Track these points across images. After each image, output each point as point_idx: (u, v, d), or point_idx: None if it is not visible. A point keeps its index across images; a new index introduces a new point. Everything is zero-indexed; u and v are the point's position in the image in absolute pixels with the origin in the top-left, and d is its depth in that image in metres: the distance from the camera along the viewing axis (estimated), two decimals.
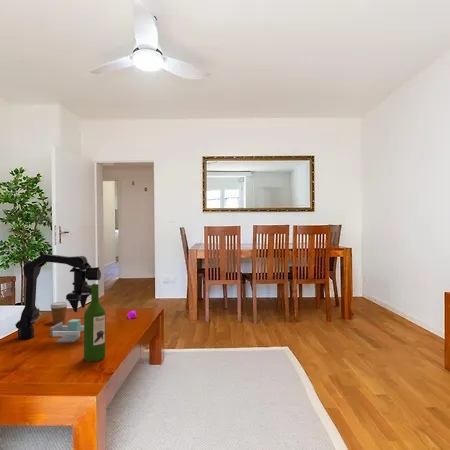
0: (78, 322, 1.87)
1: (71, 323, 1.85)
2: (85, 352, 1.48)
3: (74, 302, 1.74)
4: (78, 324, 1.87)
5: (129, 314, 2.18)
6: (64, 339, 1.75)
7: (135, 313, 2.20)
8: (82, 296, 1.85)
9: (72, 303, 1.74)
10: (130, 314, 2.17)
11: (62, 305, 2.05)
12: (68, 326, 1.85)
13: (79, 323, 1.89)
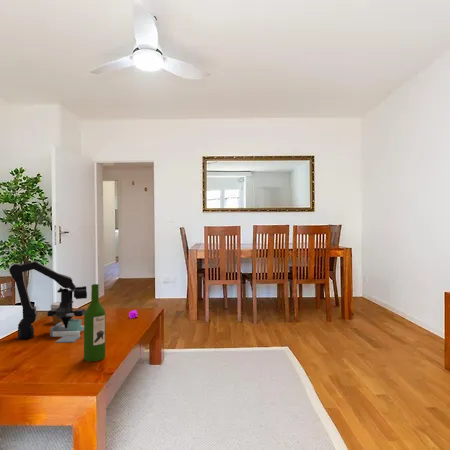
0: (79, 322, 1.87)
1: (72, 323, 1.85)
2: (85, 352, 1.48)
3: None
4: (79, 324, 1.87)
5: (130, 314, 2.18)
6: (64, 339, 1.75)
7: (136, 313, 2.20)
8: None
9: None
10: (131, 314, 2.18)
11: None
12: (69, 325, 1.85)
13: (80, 323, 1.89)
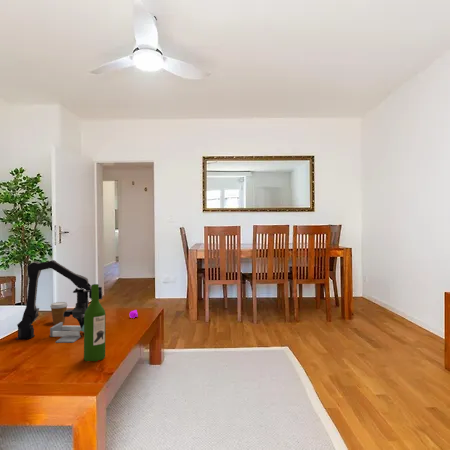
0: None
1: None
2: (85, 352, 1.48)
3: None
4: None
5: (131, 314, 2.18)
6: (64, 339, 1.75)
7: None
8: None
9: None
10: (132, 314, 2.18)
11: (62, 305, 2.05)
12: None
13: None
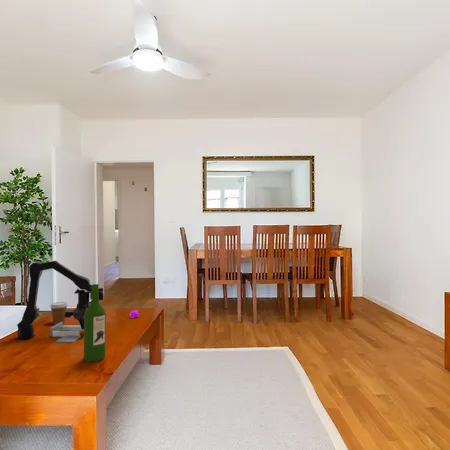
0: None
1: None
2: (85, 352, 1.48)
3: None
4: None
5: (131, 314, 2.19)
6: (64, 339, 1.75)
7: (137, 313, 2.21)
8: None
9: None
10: (132, 314, 2.19)
11: (62, 305, 2.05)
12: None
13: None
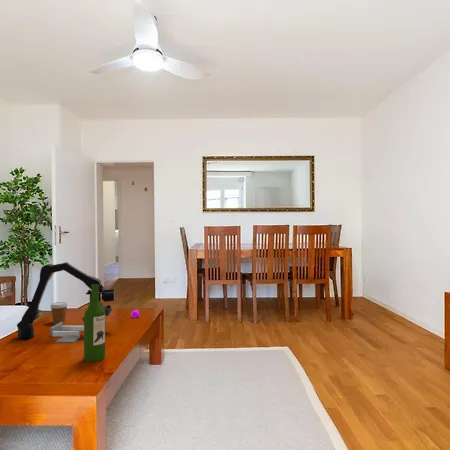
0: None
1: None
2: (85, 352, 1.48)
3: None
4: None
5: (133, 313, 2.19)
6: (64, 339, 1.75)
7: (138, 312, 2.21)
8: None
9: None
10: (134, 313, 2.19)
11: (62, 305, 2.05)
12: None
13: None
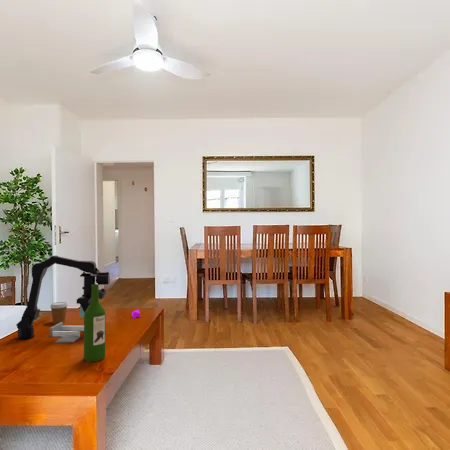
0: None
1: None
2: (85, 352, 1.48)
3: (85, 305, 1.81)
4: None
5: (133, 313, 2.19)
6: (64, 339, 1.75)
7: (139, 312, 2.22)
8: None
9: (83, 306, 1.81)
10: (134, 313, 2.19)
11: (62, 305, 2.05)
12: (81, 309, 1.83)
13: None
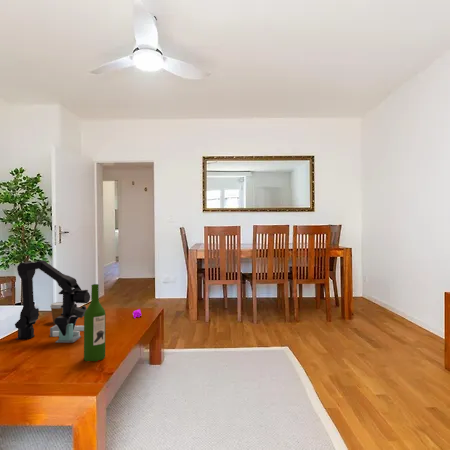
0: (70, 327, 1.76)
1: None
2: (85, 352, 1.48)
3: (63, 326, 1.71)
4: (70, 329, 1.76)
5: (134, 313, 2.20)
6: None
7: (140, 312, 2.22)
8: (71, 318, 1.82)
9: (60, 327, 1.71)
10: (135, 313, 2.20)
11: None
12: (60, 331, 1.74)
13: (71, 328, 1.78)
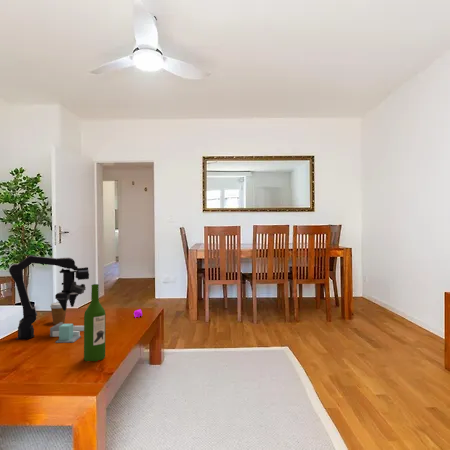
0: (70, 327, 1.76)
1: (63, 328, 1.74)
2: (85, 352, 1.48)
3: (63, 301, 1.84)
4: (70, 329, 1.76)
5: (135, 313, 2.20)
6: None
7: (141, 312, 2.23)
8: (71, 295, 1.95)
9: (61, 302, 1.84)
10: (136, 313, 2.20)
11: None
12: (60, 331, 1.74)
13: (71, 328, 1.78)
